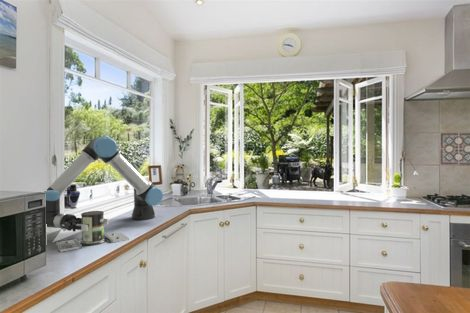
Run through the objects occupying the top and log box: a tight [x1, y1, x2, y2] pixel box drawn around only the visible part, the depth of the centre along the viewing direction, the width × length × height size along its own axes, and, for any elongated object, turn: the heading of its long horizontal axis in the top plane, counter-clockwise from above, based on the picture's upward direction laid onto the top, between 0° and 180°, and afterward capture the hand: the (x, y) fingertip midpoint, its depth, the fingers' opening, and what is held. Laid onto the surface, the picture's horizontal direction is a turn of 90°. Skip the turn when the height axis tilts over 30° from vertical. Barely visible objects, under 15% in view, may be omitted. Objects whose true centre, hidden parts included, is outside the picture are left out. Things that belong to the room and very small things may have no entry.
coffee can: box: [80, 210, 105, 244], centre depth 158 cm, size 10×10×14 cm
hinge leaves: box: [55, 231, 130, 253], centre depth 158 cm, size 31×14×1 cm, turn 127°
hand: (98, 224), depth 156 cm, fingers open, 13 cm apart
